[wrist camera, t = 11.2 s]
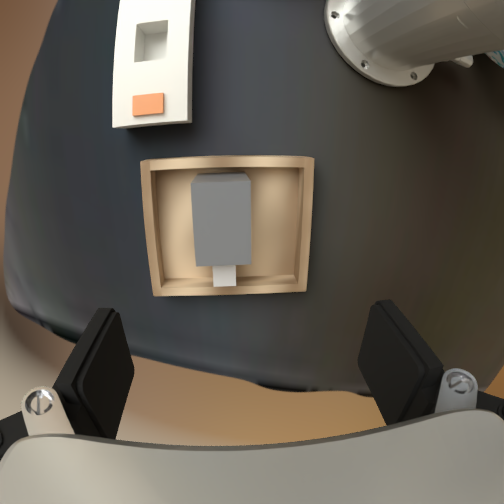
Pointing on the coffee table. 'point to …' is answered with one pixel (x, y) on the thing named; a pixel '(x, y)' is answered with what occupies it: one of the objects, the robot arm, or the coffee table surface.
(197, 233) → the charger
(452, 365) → the coffee table surface
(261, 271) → the tray
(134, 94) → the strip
